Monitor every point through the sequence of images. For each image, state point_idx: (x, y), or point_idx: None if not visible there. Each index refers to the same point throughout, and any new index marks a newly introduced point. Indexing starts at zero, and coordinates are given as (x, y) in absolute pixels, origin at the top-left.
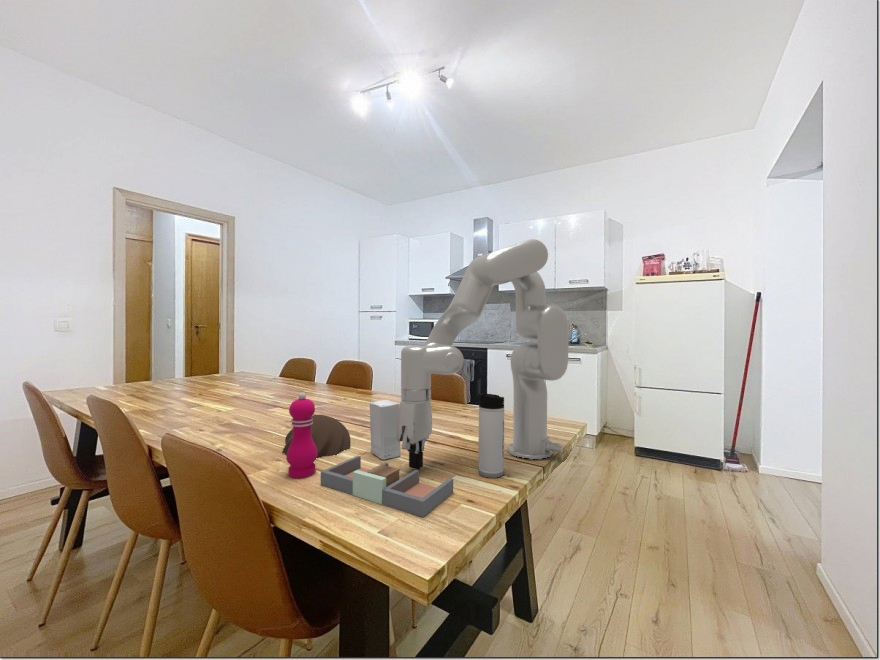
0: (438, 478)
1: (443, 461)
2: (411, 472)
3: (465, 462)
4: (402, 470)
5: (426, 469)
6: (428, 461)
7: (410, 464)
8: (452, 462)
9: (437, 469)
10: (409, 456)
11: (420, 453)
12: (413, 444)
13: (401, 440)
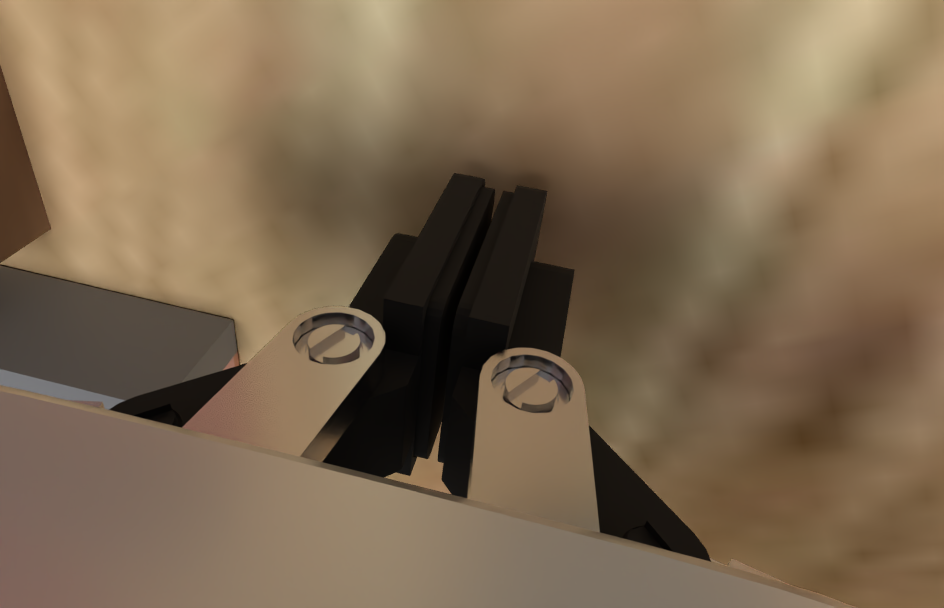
0: (418, 459)
1: (911, 439)
2: (76, 391)
3: (899, 605)
4: (430, 57)
5: (584, 327)
6: (890, 281)
7: (394, 237)
8: (883, 516)
9: (623, 422)
10: (410, 256)
11: (402, 471)
12: (477, 431)
13: (5, 388)
